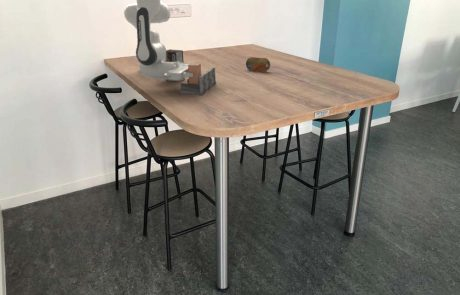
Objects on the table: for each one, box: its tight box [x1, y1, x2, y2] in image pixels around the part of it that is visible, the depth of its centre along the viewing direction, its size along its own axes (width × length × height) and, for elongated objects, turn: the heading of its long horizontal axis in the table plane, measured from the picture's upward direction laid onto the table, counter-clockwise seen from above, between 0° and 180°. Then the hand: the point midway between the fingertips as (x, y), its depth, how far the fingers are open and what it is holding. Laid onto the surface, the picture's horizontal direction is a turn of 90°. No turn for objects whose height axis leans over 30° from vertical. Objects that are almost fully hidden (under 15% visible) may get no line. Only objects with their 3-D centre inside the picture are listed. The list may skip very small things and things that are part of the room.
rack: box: [179, 66, 217, 96], centre depth 190 cm, size 21×12×9 cm, turn 164°
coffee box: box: [165, 49, 186, 82], centre depth 205 cm, size 9×6×16 cm
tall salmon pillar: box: [188, 62, 202, 85], centre depth 185 cm, size 4×5×12 cm
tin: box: [245, 56, 271, 73], centre depth 223 cm, size 15×3×8 cm, turn 62°
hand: (196, 72), depth 184 cm, fingers open, 8 cm apart
